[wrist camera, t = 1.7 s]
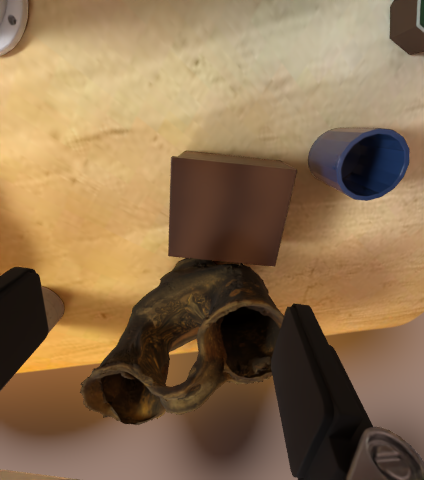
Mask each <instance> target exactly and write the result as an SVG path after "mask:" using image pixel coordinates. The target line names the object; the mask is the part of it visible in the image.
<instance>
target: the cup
mask: <svg viewBox="0 0 424 480" xmlns="http://www.w3.org/2000/svg"><path fill="white" fill-rule="evenodd" d="M308 164H309V168H310V171H311V173H312V174H313V175H314V176H315V177H316V178H317V179H318V180H320V181H322V182H324V183H325V184H327V185H329V186H331V187H333V188H335V189H336V190H338V191H340V192H342V193H344V194H345V195H347V196H349V197H351V198H353V199H356V200H365V201H368V200H372V199H375V198H379V197H382V196H383V195H385V194H387V193H388V192H390V191H391V190H393V189H394V188H395V187H396V186H397V184H398V183H399V182H400V181H401V180H402V178H403V177H404V175H405V173H406V170H407V168H408V165H409V147H408V145H407V143H406V141H405V139H404V137H403V136H401V135H400V134H398V133H397V132H395V131H394V130H390V129H381V128H335V129H331V130H329V131H327V132H325V133H323V134H322V135H321V136H320V137H318V138H317V140H316V141H315V142H314V143H313V145H312V147H311V149H310V152H309V157H308Z"/></svg>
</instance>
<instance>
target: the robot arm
mask: <svg viewBox="0 0 424 480" xmlns="http://www.w3.org/2000/svg"><path fill="white" fill-rule="evenodd" d="M27 19H28V0H0V56H1V55H4V54H6V53H7V52H9V51H10V50H12V49H13V48H14V47H15V46H16V45H17V43H18V42H19V41H20V39H21V37H22V35H23V33H24V31H25V27H26V23H27ZM48 331H49V328H48V322H47V316H46V311H45V305H44V299H43V294H42V288H41V282H40V277H39V275H38V274H37V273H36V272H35V270H34V269H30V268H22V267H14V268H12V269H10V270H9V271H7V272H5V273H4V274H2V275H1V276H0V390H1V389H2V388H3V387H4V386H5V385H6V383H7V382H8V381H9V380H10V379H11V378H12V376H13V375H14V374H15V373H16V372H17V371H18V370H19V368H20V367H21V366H22V365H23V364H24V363H25V361H26V360H27V359H28V358H29V357H30V356H31V355H32V353H33V352H34V351H35V350H36V349H37V348H38V347H39V345H40V344H41V343H42V342H43V341H44V340H45V338H46V337H47V335H48ZM271 370H272V375H273V380H274V385H275V390H276V396H277V401H278V406H279V411H280V417H281V421H282V426H283V432H284V437H285V442H286V448H287V453H288V458H289V463H290V469H291V472H292V475H293V476H294V477H298V480H424V462H423V460H422V458H421V457H420V456H419V454H418V453H417V452H416V451H415V450H414V449H413V448H412V447H411V445H409V444H408V443H407V442H406V441H405V440H403V439H402V438H401V437H400V436H398V435H396V434H395V433H393V432H391V431H390V430H387V429H384V428H380V427H373V425H372V424H371V421H370V420H369V417H368V415H367V413H366V411H365V410H364V407H363V405H362V403H361V401H360V399H359V398H358V395H357V393H356V391H355V390H354V388H353V385H352V383H351V381H350V380H349V377H348V375H347V373H346V371H345V369H344V367H343V365H342V363H341V361H340V359H339V357H338V355H337V353H336V351H335V350H334V348H333V347H332V346H331V345H329V344H328V342H327V340H326V338H325V336H324V334H323V332H322V330H321V328H320V326H319V324H318V321H317V319H316V317H315V315H314V313H313V311H312V309H311V307H310V306H308V305H301V304H293V305H292V306H291V307H287V309H286V312H285V315H284V318H283V322H282V325H281V328H280V332H279V335H278V339H277V342H276V345H275V349H274V352H273V355H272V359H271ZM0 480H78V479H71V478H62V477H55V476H47V475H39V474H32V473H24V472H16V471H9V470H1V469H0Z"/></svg>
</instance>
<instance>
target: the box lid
mask: <svg viewBox="0 0 424 480" xmlns="http://www.w3.org/2000/svg"><path fill="white" fill-rule="evenodd" d="M296 173H297V170H296V169H292V168H282V167H273V166H263V165H253V164H244V163H234V162H224V161H215V160H205V159H195V158H186V157H176V156H172V157H171V181H170V217H169V253H168V256H173V257H183V258H193V259H204V260H214V261H224V262H234V263H244V264H254V265H264V266H275V265H276V260H277V256H278V252H279V247H280V243H281V238H282V234H283V230H284V225H285V221H286V217H287V212H288V208H289V204H290V199H291V195H292V190H293V186H294V182H295V177H296Z"/></svg>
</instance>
